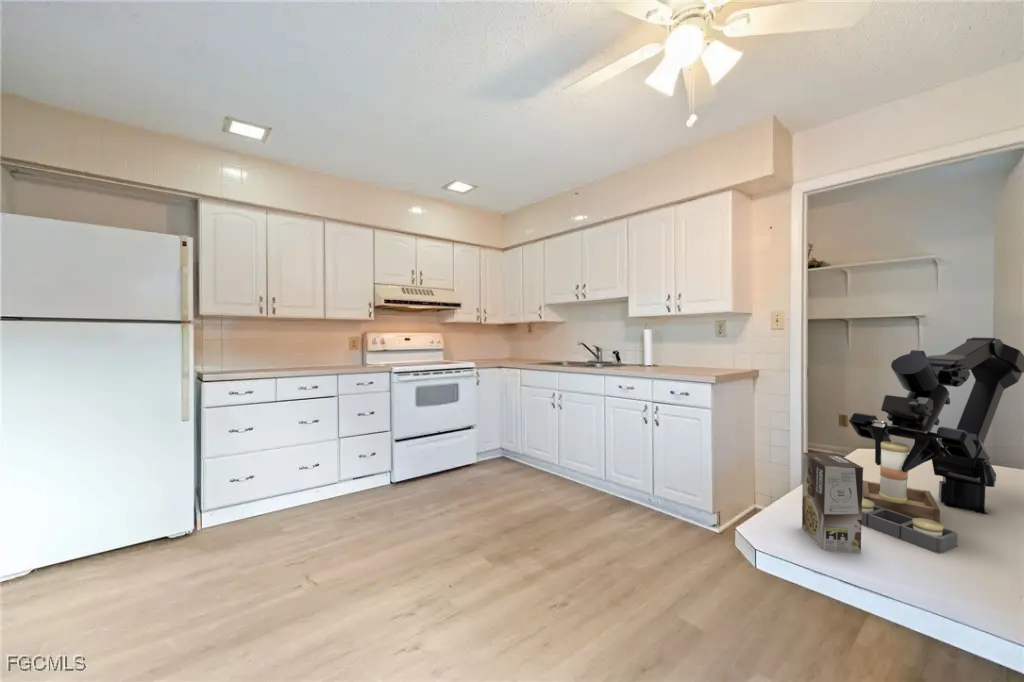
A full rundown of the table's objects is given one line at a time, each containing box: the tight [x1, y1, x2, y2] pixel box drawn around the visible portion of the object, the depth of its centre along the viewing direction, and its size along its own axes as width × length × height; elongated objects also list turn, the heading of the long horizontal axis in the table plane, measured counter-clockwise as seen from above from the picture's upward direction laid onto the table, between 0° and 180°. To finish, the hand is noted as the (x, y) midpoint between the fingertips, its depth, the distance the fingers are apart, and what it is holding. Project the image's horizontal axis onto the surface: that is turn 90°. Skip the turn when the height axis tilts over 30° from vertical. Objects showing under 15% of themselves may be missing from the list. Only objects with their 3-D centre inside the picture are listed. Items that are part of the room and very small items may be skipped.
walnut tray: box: [862, 479, 941, 524], centre depth 97 cm, size 12×12×4 cm
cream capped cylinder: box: [879, 441, 910, 503], centre depth 86 cm, size 4×4×11 cm
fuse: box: [912, 518, 944, 538], centre depth 82 cm, size 4×4×4 cm
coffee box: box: [801, 452, 864, 554], centre depth 83 cm, size 9×6×16 cm
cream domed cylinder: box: [862, 498, 874, 513], centre depth 92 cm, size 4×4×4 cm
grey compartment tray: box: [862, 505, 959, 555], centre depth 87 cm, size 17×7×3 cm, turn 24°
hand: (889, 467), depth 86 cm, fingers closed on cream capped cylinder, 4 cm apart
